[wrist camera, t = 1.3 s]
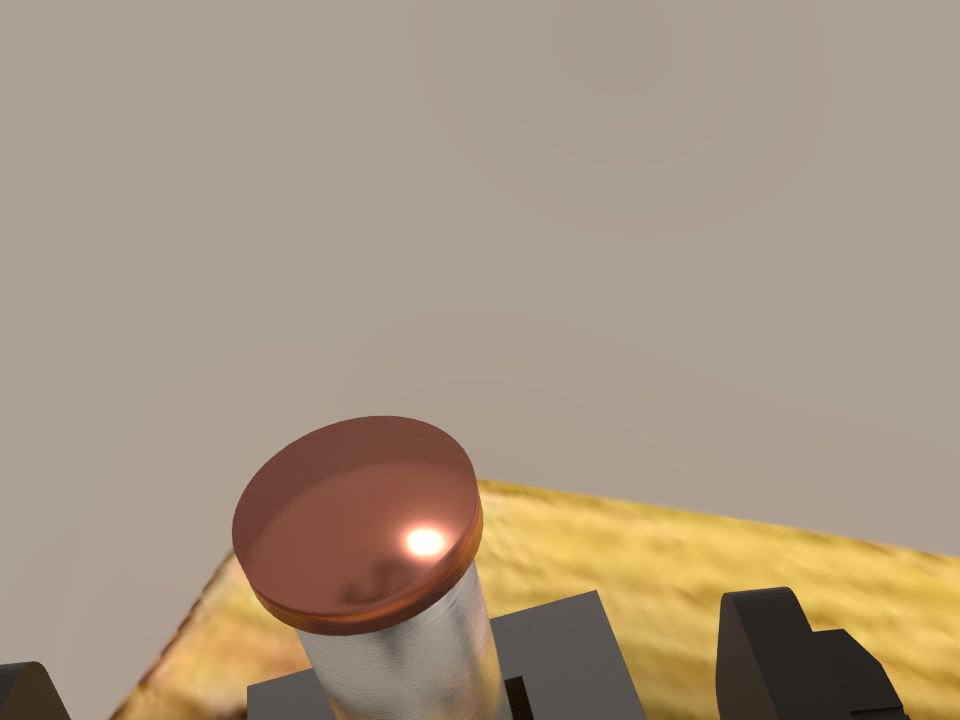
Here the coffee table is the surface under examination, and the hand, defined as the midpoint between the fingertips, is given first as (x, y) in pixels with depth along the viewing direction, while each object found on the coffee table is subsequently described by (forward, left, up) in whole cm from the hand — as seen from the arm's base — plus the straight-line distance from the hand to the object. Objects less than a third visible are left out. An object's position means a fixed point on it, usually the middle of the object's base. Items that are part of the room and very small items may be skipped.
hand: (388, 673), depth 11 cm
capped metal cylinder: (+1, -9, -24) cm, 25 cm away
